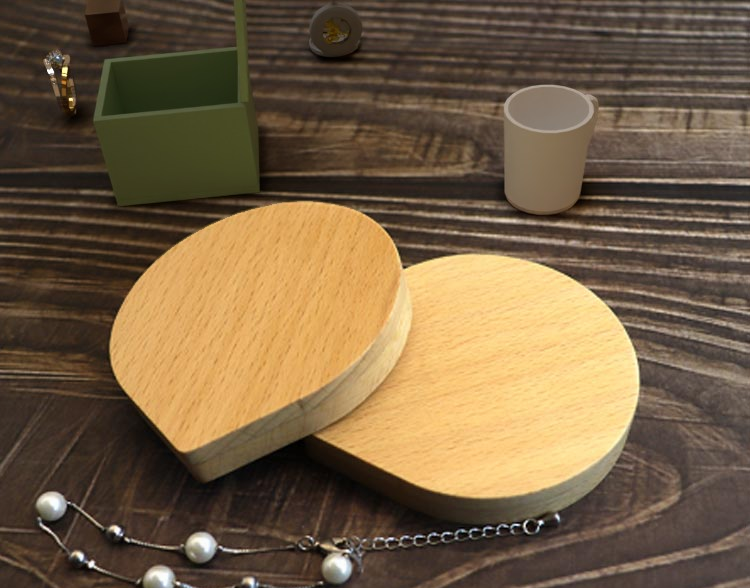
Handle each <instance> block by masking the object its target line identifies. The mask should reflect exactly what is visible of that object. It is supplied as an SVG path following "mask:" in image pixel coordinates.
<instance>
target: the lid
mask: <svg viewBox="0 0 750 588" xmlns="http://www.w3.org/2000/svg"><path fill="white" fill-rule="evenodd" d="M246 3H247V2H246V0H233V12H234V26H235V27H234V29H235V40H236V41H235V42H236V47H237V56H238V70H239V84H240V98H241V102H248V101H249V91H248V68H249V33H248V19H247V18H248V17H247V4H246Z"/></svg>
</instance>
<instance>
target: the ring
mask: <svg viewBox="0 0 750 588" xmlns="http://www.w3.org/2000/svg"><path fill="white" fill-rule="evenodd" d="M70 61H71V57H70V55H69V54H68V53H65V54H63V52H62V50H60V49H58V48H57V49H55V50H52V51H51V52H49V53H48V54H47V55H46V58H44V59H43V64H44V66H45V69H46V70H47V73H48V74H49V75H48V76H49V78H50V82H51V85H52V88H53V91H54V96H55V99H56V102H57V105H58V107H59V109H60V111H61V113H62V115H63V116H64V117H67V118H68V117H74V116H75V115H77V114H78V109H77V108H78V97H77V96H78V95H77V88H76V87H77V86H76V82H75V76H74V73H73V69H72V66H71V63H70ZM53 66H54V67H55V70H56V69H58V70H59V72H60V73H61V88H60V84H59V81H58V79H57V75H56V73H55V70H54V68H53Z"/></svg>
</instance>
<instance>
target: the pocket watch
mask: <svg viewBox="0 0 750 588" xmlns="http://www.w3.org/2000/svg"><path fill="white" fill-rule="evenodd" d="M330 1H331V2H330V3H328V4H325V5H323V6H321V7H320V8H319V9H318V10H317V11H315V12H314V14H313V16H312V18H311V19H310V22H309V25H308V26H309V27H308V31H309V32H308V33H309V37H310V38H309V40H308V46H309V48H310V50H311V51H312V52H313V54H316V55H318V56H320V57H326V58H338V57H342V56H347V55H349V54H351V53H353V52H355V50H357V49H358V48H359V46H360V42H361V37H362V34H363V23H362V19H361V16H360V15H359V13H358V11H356V10H355V9H354V8H353V7H352V6H350V5H348V4H345V3H342V2H336V0H330Z"/></svg>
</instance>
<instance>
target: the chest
mask: <svg viewBox="0 0 750 588" xmlns="http://www.w3.org/2000/svg"><path fill="white" fill-rule="evenodd" d="M248 91H249V101H248V102H241V98H240V84H239V70H238V56H237V46H229V47H219V48H210V49H209V48H208V49H198V50H188V51H187V50H186V51H178V52H167V53H156V54H146V55H137V56H126V57H125V56H124V57H114V58H105V59H104V60H103V65H102V71H101V76H100V82H99V87H98V92H97V96H96V97H97V98H96V104H95V109H94V113H93V119H92V123H93V126H94V129H95V132H96V136H97V139H98V143H99V146H100V149H101V154H102V157H103V161H104V162H105V163H104V164H105V167H106V170H107V173H108V178H109V180H110V183H111V188H112V190H113V195H114V197H115V200H116V205H117V207H125V206H136V205H137V206H138V205H147V204H157V203H166V202H176V201H186V200H197V199H206V198H216V197H227V196H235V195H236V196H237V195H245V194H257V193H260V192H261V191H260V189H261V187H260V184H261V183H260V147H259V146H260V144H259V143H260V142H259V141H260V140H259V139H260V137H259V125H258V119H257V112H256V105H255V100H254V92H253V87H252V81H251V75H250V69H249V67H248Z"/></svg>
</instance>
